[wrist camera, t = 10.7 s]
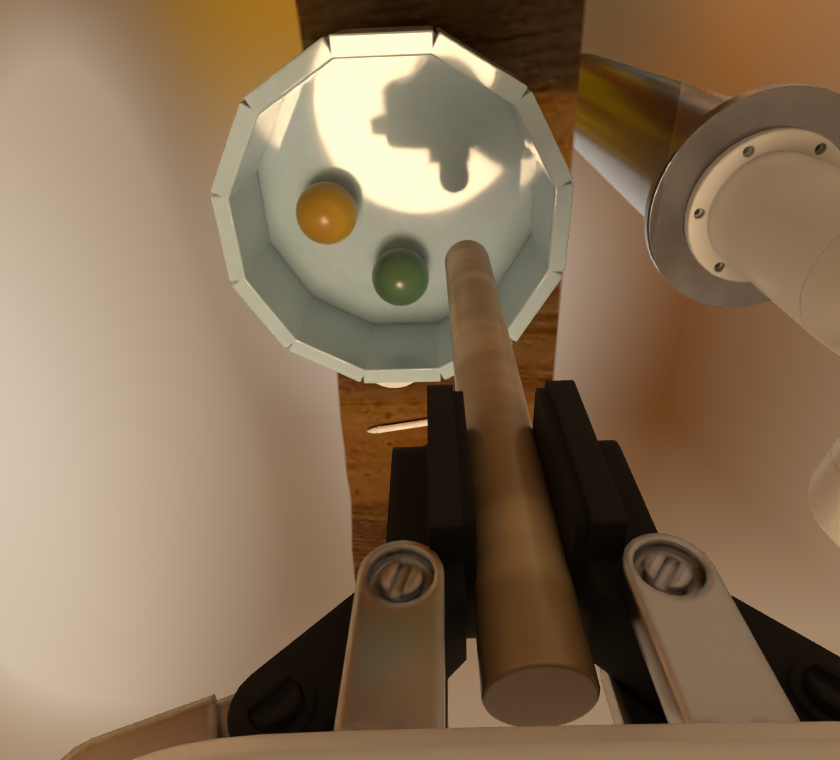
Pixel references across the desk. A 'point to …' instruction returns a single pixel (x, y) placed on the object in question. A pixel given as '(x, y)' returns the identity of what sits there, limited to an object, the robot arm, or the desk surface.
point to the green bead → (400, 276)
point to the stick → (513, 522)
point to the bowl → (389, 195)
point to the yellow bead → (326, 213)
